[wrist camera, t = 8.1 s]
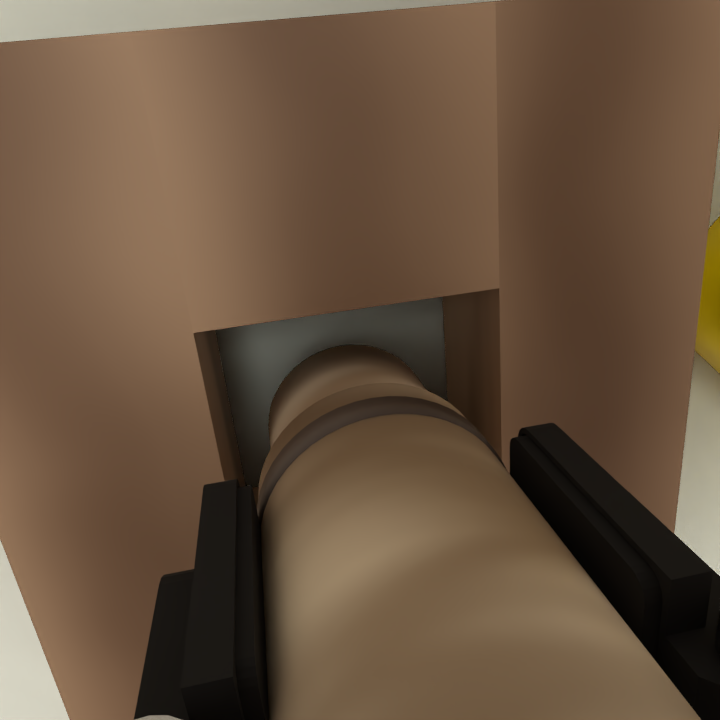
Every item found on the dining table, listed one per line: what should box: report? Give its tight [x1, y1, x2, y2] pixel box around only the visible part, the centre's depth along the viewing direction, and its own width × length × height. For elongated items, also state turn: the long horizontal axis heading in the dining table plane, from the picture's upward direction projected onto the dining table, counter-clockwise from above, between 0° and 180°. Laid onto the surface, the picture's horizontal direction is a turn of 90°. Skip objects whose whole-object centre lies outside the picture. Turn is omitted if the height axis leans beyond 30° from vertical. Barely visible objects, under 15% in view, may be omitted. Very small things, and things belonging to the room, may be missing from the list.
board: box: [0, 0, 720, 720], centre depth 15 cm, size 15×16×4 cm
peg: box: [257, 345, 701, 720], centre depth 9 cm, size 4×4×12 cm
